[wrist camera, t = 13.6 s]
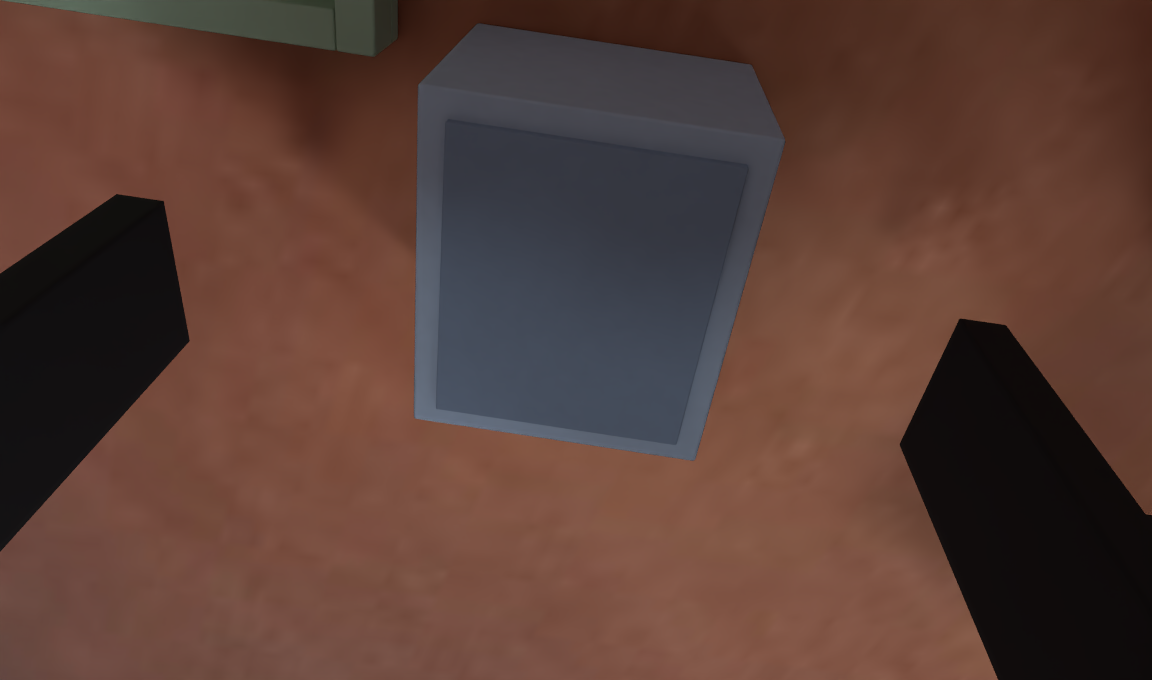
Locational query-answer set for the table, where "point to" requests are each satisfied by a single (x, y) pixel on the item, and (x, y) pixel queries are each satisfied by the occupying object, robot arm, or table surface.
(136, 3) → the backing tray
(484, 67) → the blue box
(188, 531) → the table surface
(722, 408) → the table surface
